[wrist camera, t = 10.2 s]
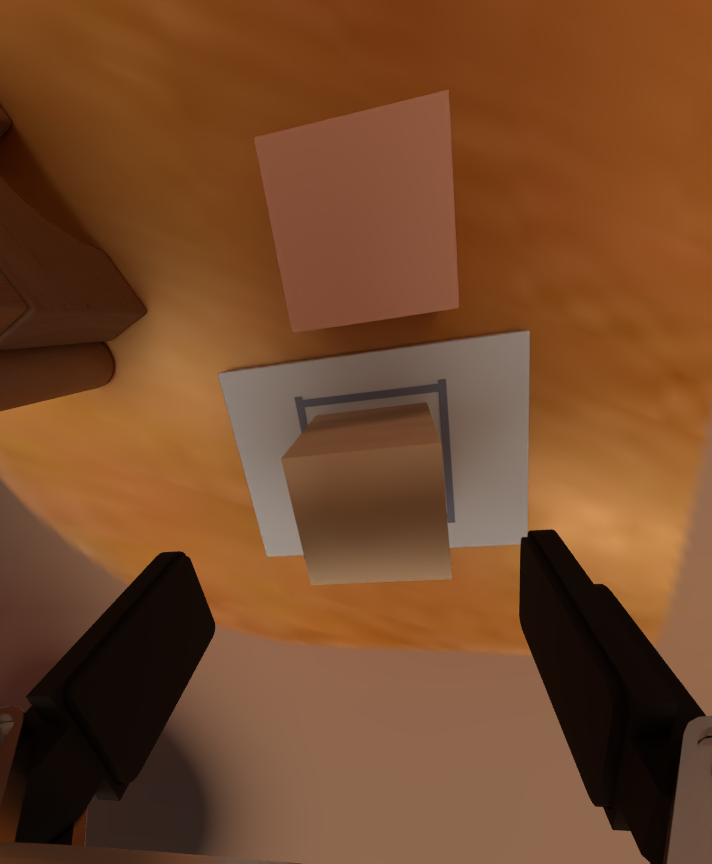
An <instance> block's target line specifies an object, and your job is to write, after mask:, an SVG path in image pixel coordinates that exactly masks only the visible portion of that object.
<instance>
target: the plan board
mask: <svg viewBox="0 0 712 864" xmlns="http://www.w3.org/2000/svg"><path fill="white" fill-rule="evenodd" d="M529 364H530V331H529V330H517V331H510V332H503V333H496V334H488V335H481V336H474V337H467V338H460V339H452V340H445V341H438V342H431V343H424V344H416V345H409V346H402V347H395V348H388V349H380V350H373V351H366V352H359V353H352V354H344V355H337V356H330V357H323V358H316V359H308V360H301V361H294V362H287V363H280V364H272V365H265V366H258V367H251V368H244V369H237V370H229V371H225V372H222V373H218V376H219V379H220V383H221V387H222V391H223V394H224V398H225V402H226V405H227V409H228V413H229V417H230V420H231V424H232V428H233V431H234V435H235V439H236V443H237V446H238V450H239V454H240V457H241V461H242V465H243V469H244V472H245V476H246V480H247V483H248V487H249V491H250V495H251V498H252V502H253V506H254V509H255V513H256V517H257V521H258V524H259V528H260V532H261V535H262V539H263V543H264V547H265V550H266V554H267V557H272V556H293V555H304V554H303V550H302V545H301V541H300V537H299V533H298V529H297V524H296V520H295V516H294V512H293V508H292V503H291V499H290V495H289V491H288V487H287V482H286V478H285V474H284V470H283V466H282V461H281V458H282V457H283V456H284V454H285V453H286V452H287V451H288V449H289V448H290V447H291V446H292V444H293V443H294V442H295V441H296V439H297V438H298V437H299V436H300V435H301V433H302V432H303V431H304V430H305V428H306V427H307V426H308V425H309V423H310V422H311V421H312V420H313V418H314V417H315V416H316V415H325V414H333V413H341V412H350V411H358V410H366V409H375V408H383V407H391V406H399V405H408V404H416V403H424V402H427V404H428V407H429V410H430V413H431V416H432V418H433V421H434V424H435V427H436V430H437V433H438V435H439V438H440V441H441V448H442V460H443V473H444V485H445V497H446V510H447V522H448V534H449V547H450V548H455V547H476V546H496V545H516V544H521V538H522V537H527V536H528V450H529Z"/></svg>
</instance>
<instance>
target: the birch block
mask: <svg viewBox="0 0 712 864" xmlns="http://www.w3.org/2000/svg"><path fill="white" fill-rule="evenodd" d="M281 461H282V466H283V470H284V474H285V478H286V482H287V487H288V491H289V495H290V499H291V503H292V508H293V512H294V516H295V520H296V524H297V529H298V533H299V537H300V541H301V545H302V550H303V554H304V558H305V562H306V566H307V570H308V575H309V579H310V583H311V585H325V584H349V583H373V582H397V581H421V580H445V579H452V571H451V559H450V547H449V534H448V522H447V510H446V497H445V485H444V473H443V460H442V448H441V441H440V438H439V435H438V433H437V430H436V427H435V424H434V421H433V418H432V416H431V413H430V410H429V407H428V404H427V402H424V403H416V404H408V405H399V406H391V407H383V408H375V409H366V410H358V411H350V412H341V413H333V414H325V415H316V416H315V417H314V418H313V420H312V421H311V422H310V423H309V425H308V426H307V427H306V428H305V430H304V431H303V432H302V433H301V435H300V436H299V437H298V438H297V439H296V441H295V442H294V443H293V444H292V446H291V447H290V448H289V449H288V451H287V452H286V453H285V454H284V456H283V457H282V458H281Z"/></svg>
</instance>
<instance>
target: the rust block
mask: <svg viewBox="0 0 712 864" xmlns="http://www.w3.org/2000/svg"><path fill="white" fill-rule="evenodd" d="M254 141H255V146H256V151H257V156H258V161H259V166H260V172H261V177H262V182H263V187H264V192H265V197H266V202H267V208H268V213H269V218H270V223H271V228H272V233H273V238H274V243H275V249H276V254H277V259H278V264H279V269H280V274H281V279H282V285H283V290H284V295H285V300H286V305H287V310H288V315H289V321H290V326H291V331H292V333H298V332H305V331H311V330H318V329H325V328H331V327H338V326H345V325H351V324H358V323H364V322H371V321H378V320H384V319H391V318H397V317H404V316H411V315H417V314H424V313H431V312H437V311H444V310H450V309H457V308H459V290H458V269H457V249H456V228H455V207H454V186H453V165H452V145H451V124H450V103H449V90H445V91H441V92H437V93H432V94H428V95H424V96H420V97H416V98H412V99H408V100H404V101H400V102H396V103H392V104H388V105H384V106H380V107H376V108H371V109H367V110H363V111H359V112H355V113H351V114H347V115H343V116H339V117H335V118H331V119H327V120H323V121H319V122H314V123H310V124H306V125H302V126H298V127H294V128H290V129H286V130H282V131H278V132H274V133H270V134H266V135H262V136H258V137H254Z"/></svg>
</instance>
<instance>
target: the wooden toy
mask: <svg viewBox="0 0 712 864" xmlns="http://www.w3.org/2000/svg"><path fill="white" fill-rule="evenodd" d="M10 126H11V121H10V119H9V118H8V116H7V115H6V113H5V112H4V111H3V109H2V108H1V106H0V138H1V137H2V136H3V134H4V133H5V132H6V131H7V130H8V129H9V127H10ZM145 312H146V310H145V308H144V306H143V305H142V304H141V302H140V301H139V299H138V298H137V297H136V295H135V294H134V292H133V291H132V290H131V288H130V287H129V285H128V284H127V283H126V281H125V280H124V278H123V277H122V276H121V274H120V273H119V271H118V270H117V269H116V267H115V266H114V264H113V263H112V262H111V260H110V259H109V257H108V256H107V255H106V254H105V253H104V252H103V251H102V250H99V249H97V248H94V247H91V246H89V245H86V244H84V243H81V242H80V241H78V240H77V239H75V238H73V237H72V236H70V235H69V234H67V233H66V232H64V231H62V230H61V229H59V228H58V227H56V226H55V225H53V224H51V223H50V222H49V221H48V220H46V219H45V218H44V217H43V216H42V215H40V214H39V213H38V212H37V211H36V210H34V209H33V208H32V207H31V206H30V205H29V204H27V203H26V202H25V201H24V200H23V199H21V198H20V197H19V196H18V195H17V194H16V193H15V192H14V190H13V189H12V188H11V187H10V186H9V185H8V184H7V183H6V181H5V180H4V179H3V178H2V177H1V176H0V411H4V410H8V409H12V408H16V407H20V406H25V405H29V404H33V403H37V402H41V401H45V400H49V399H54V398H58V397H62V396H66V395H70V394H74V393H78V392H83V391H87V390H91V389H95V388H99V387H101V386H103V385H105V384H106V382H107V381H108V380H109V379H110V378H111V376H112V373H113V361H112V357H111V355H110V353H109V351H108V349H107V348H106V347H105V346H104V345H103V344H102V343H101V342H100V341H110V340H112V339H113V338H114V337H116V336H117V335H118V334H119V333H121V332H122V331H123V330H125V329H126V328H127V327H128V326H130V325H131V324H132V323H133V322H135V321H136V320H137V319H138V318H140V317H141V316H142V315H144V314H145Z"/></svg>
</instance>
